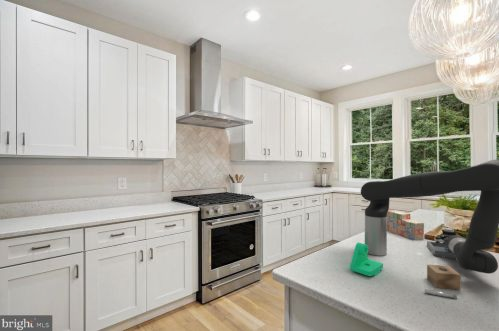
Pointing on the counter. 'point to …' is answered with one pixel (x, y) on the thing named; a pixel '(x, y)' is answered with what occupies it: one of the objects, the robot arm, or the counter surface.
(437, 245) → the tray
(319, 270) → the counter surface
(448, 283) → the block
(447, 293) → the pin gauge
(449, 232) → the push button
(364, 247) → the camera mount
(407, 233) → the stack of blocks
